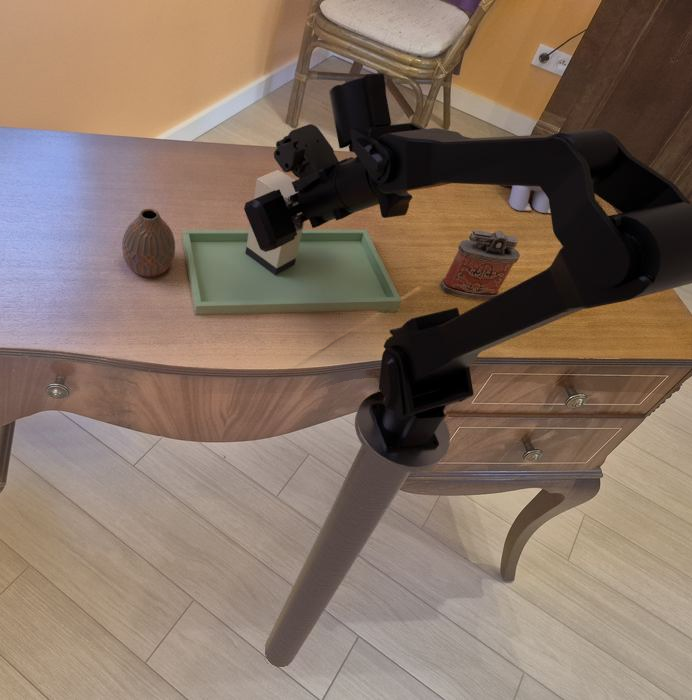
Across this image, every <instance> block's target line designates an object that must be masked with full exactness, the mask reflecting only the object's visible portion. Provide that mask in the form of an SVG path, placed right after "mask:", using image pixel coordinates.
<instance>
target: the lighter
mask: <svg viewBox="0 0 692 700" xmlns="http://www.w3.org/2000/svg"><path fill="white" fill-rule="evenodd" d="M518 242H519V238H517V236H514V235H513V236H511V235H506V234H505V233H504V232H503V231H502V230H496V231H494V232H490V231H484V230H479V229H473V230H472V231H471V233H470V235H469V236H468V239H463V240H461V241H460V243H459V244H458V246H457V249H458V250H457V252H456V254H455V256H454V258H453V260H452V263H451V264H450V267H449V269H448V271H447V273H446V275H445V277H443V279H442V280H441V282H440V284H439V287H440V289H441V291H442V292H444V293H446V294H448V295H452V296H455V297H459V298H464V299H469V300H477V301H478V300H479V301H488V300H490V299H491V298H493V297H495V296H497V295H499V290H500V288H501V286H502V285H503V283H504V281H506V278H507V276H508V274H509V273H510V271H511V270H512V268H513V266H514V265H515V263H517V262H518V260H519V258H520V252H519V251H518V250H517V249H516V247H517V244H519V243H518Z"/></svg>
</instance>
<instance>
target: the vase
mask: <svg viewBox="0 0 692 700" xmlns="http://www.w3.org/2000/svg"><path fill="white" fill-rule="evenodd" d="M121 243H122V244H121V250H122V257H123V259H124V262H125V263H126V265H127V267H128V269H130V270H131V271H132V272H133V273H135V274H136V275H138V276H141V277H145V278H154V277H157V276H160V275H162V274H164V273H165V272H166V271H167V270H168V269H169V268H170V266H171V265H172V263H173V260H174V258H175V255H176V241H175V237H174V233H173V231H172V229H171V227H170V226H169V224H168V223H167V222H166V221H165V220H164V219H163V218H162V217H161V215H160V212H158V211H157V210H156V209H152V208H145V209H142V210H141V211H140V212H139V214H138V216H137V217H136V218H134V220H132V222H130V223H129V224H128V226H127V227H126V228H125V231H124V233H123V237H122V242H121Z"/></svg>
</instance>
